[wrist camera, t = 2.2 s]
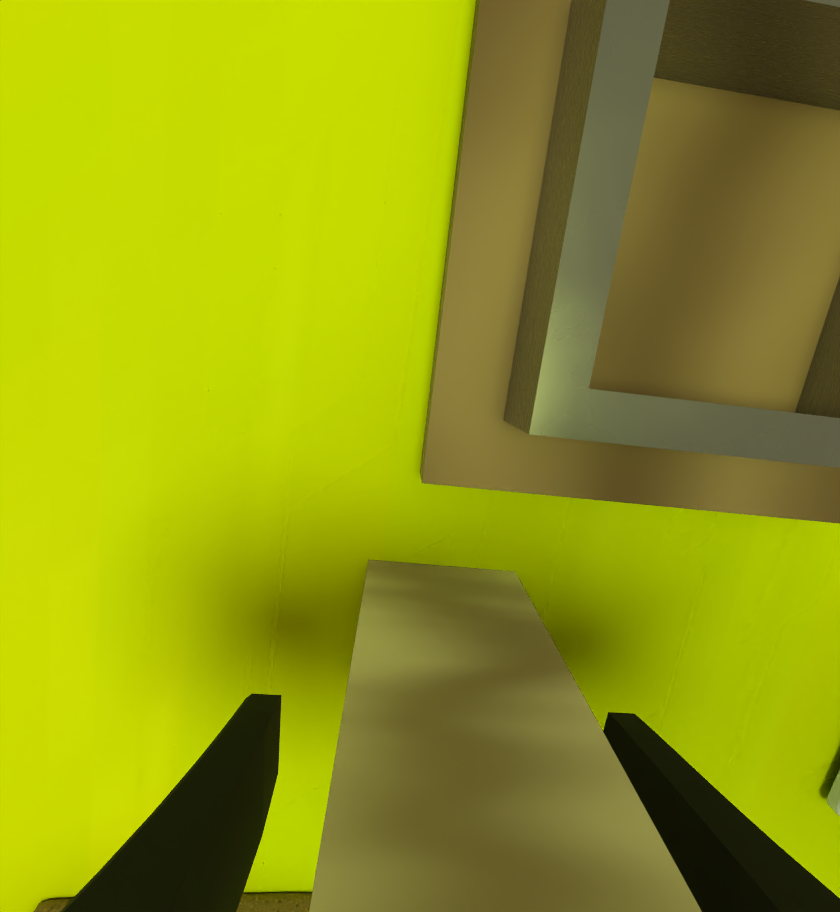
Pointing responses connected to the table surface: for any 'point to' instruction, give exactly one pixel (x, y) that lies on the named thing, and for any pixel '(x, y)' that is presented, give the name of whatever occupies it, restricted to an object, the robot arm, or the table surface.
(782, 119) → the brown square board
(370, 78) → the table surface
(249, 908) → the candle holder
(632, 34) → the gray square frame
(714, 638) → the table surface
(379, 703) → the tan rectangular block
